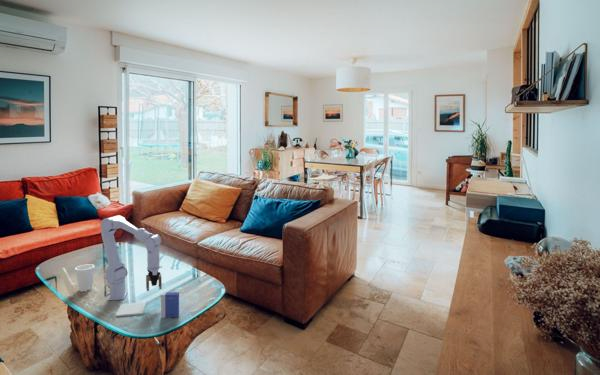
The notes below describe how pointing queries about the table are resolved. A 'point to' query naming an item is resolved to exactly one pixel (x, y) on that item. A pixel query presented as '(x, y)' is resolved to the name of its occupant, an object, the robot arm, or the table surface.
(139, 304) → the mat
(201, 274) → the table surface
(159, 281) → the brown forked block
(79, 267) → the foam cup
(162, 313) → the walkman
